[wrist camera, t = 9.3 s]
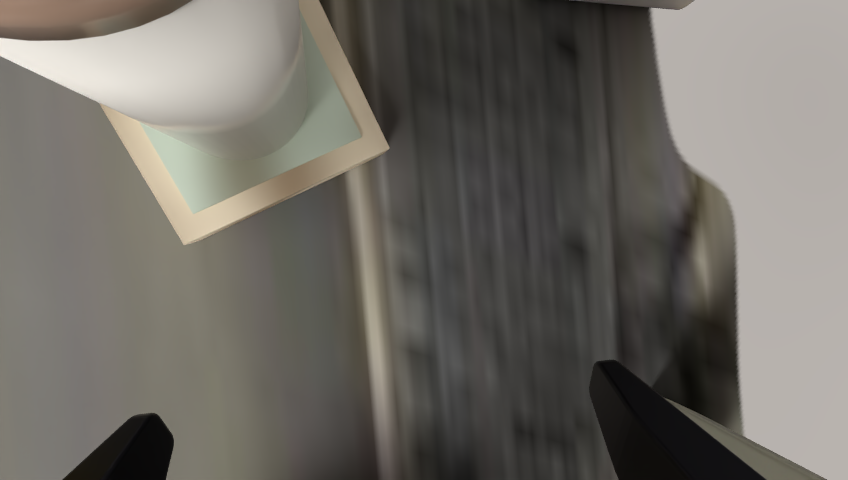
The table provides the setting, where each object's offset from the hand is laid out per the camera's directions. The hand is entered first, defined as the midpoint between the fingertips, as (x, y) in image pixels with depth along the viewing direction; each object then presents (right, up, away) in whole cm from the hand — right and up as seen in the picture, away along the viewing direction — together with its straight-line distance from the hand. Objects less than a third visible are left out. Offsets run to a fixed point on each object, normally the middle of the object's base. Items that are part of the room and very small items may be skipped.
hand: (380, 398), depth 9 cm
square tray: (-7, +9, +10) cm, 15 cm away
